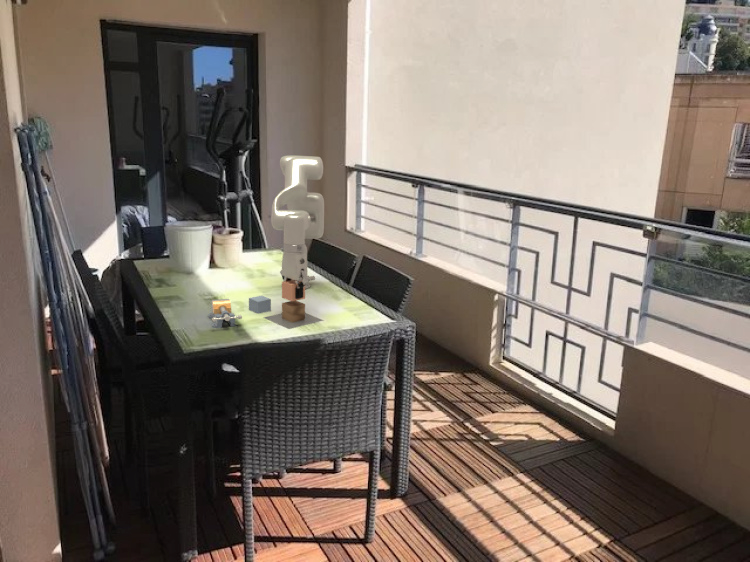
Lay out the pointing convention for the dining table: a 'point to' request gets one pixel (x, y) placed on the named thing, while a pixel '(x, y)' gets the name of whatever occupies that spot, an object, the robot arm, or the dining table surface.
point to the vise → (222, 313)
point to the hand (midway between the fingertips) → (293, 295)
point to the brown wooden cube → (293, 311)
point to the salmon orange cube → (290, 290)
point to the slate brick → (259, 304)
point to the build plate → (289, 325)
